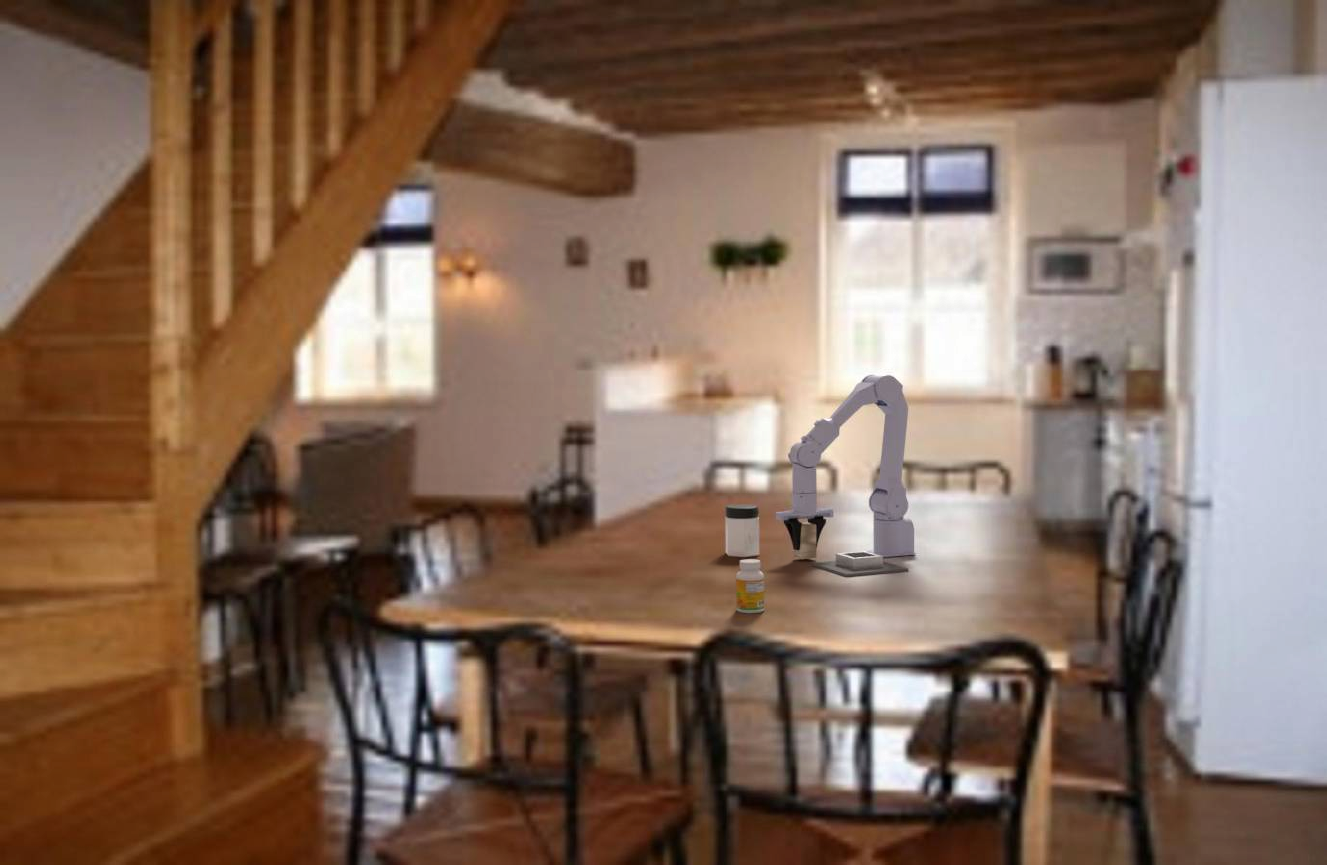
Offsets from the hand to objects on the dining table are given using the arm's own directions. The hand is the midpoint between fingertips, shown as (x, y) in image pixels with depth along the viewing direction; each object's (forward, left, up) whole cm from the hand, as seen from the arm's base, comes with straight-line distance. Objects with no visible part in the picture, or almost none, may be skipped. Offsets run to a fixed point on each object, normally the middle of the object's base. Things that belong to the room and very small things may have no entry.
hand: (805, 548), depth 280 cm
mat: (-6, +15, -3) cm, 16 cm away
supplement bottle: (+36, +45, -3) cm, 58 cm away
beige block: (0, 0, -2) cm, 2 cm away
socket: (-6, +15, -3) cm, 16 cm away
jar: (+10, -14, -3) cm, 17 cm away
